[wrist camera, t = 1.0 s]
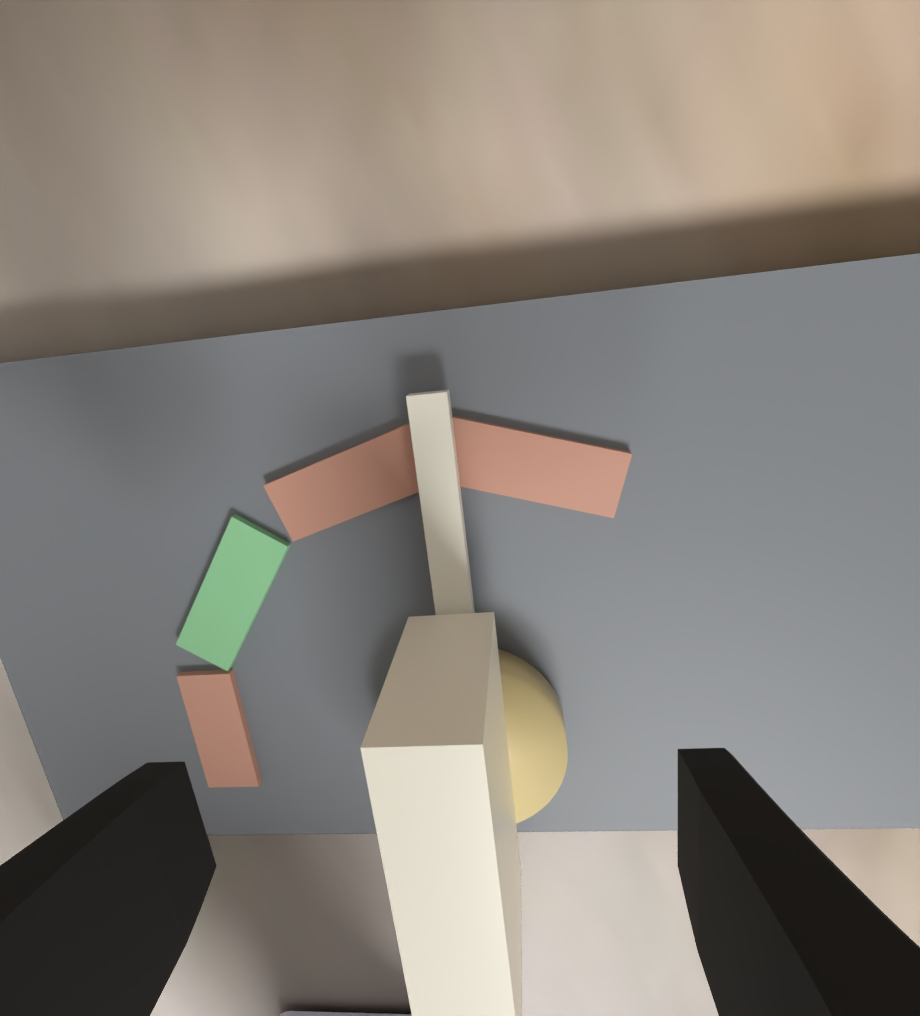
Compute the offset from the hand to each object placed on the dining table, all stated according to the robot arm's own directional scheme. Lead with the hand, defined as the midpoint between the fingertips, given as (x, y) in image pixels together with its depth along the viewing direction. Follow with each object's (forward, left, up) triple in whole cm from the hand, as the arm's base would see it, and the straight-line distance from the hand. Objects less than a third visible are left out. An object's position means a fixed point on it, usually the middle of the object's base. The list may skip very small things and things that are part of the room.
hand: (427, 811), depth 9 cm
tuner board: (0, 0, -7) cm, 7 cm away
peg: (0, 0, -5) cm, 5 cm away
